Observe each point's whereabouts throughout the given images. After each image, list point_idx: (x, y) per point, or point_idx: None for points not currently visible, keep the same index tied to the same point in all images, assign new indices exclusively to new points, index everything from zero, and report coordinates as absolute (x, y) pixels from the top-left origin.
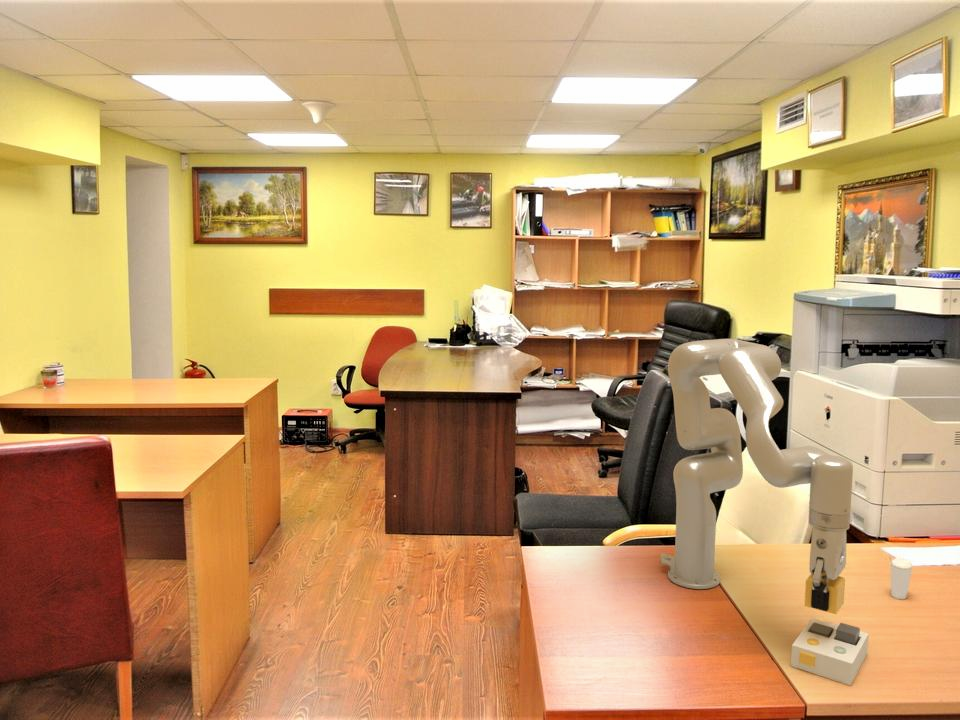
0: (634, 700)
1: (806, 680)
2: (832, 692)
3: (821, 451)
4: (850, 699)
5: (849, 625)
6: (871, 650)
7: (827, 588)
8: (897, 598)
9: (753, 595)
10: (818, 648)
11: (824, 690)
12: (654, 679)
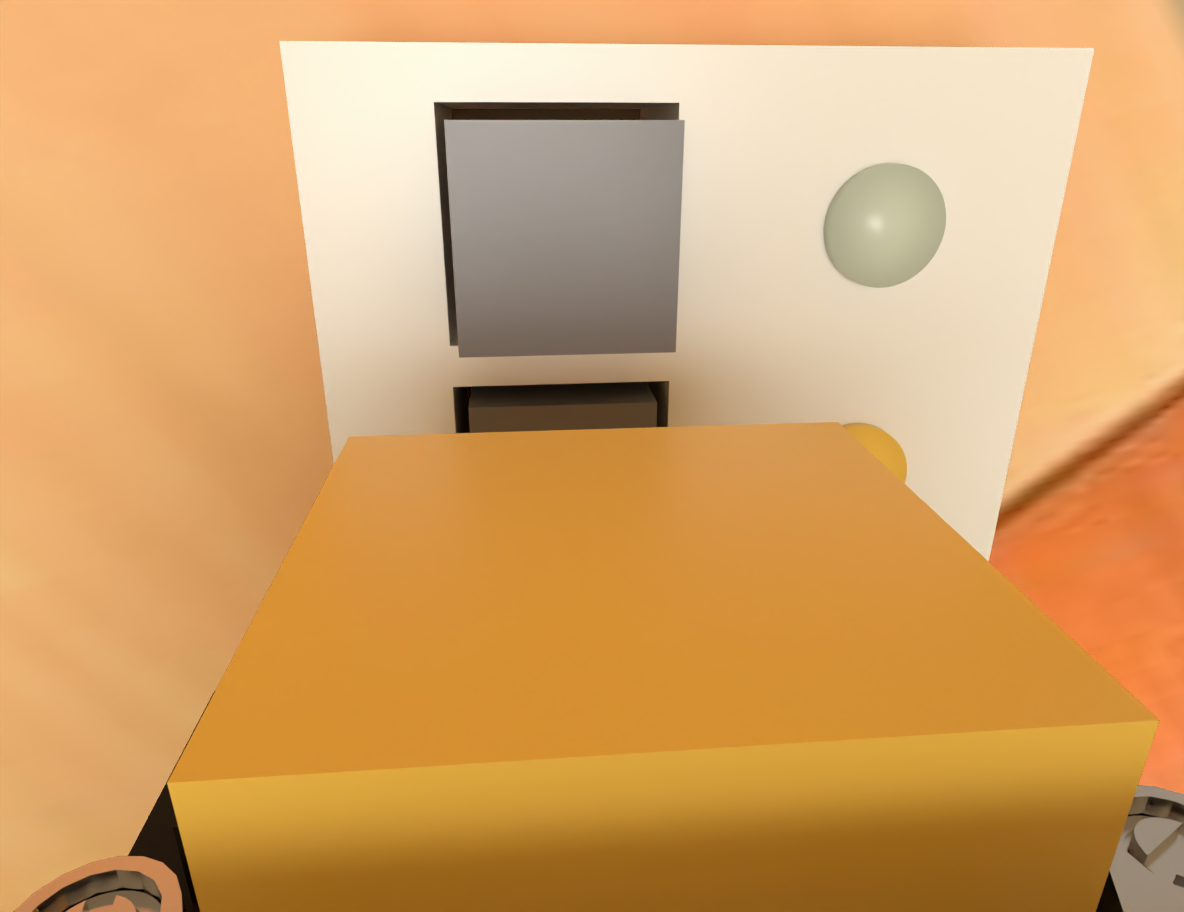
0: None
1: (1033, 365)
2: (1119, 166)
3: None
4: (1165, 19)
5: (464, 251)
6: (227, 41)
7: (1133, 870)
8: None
9: None
10: (936, 402)
11: (1114, 224)
12: None
